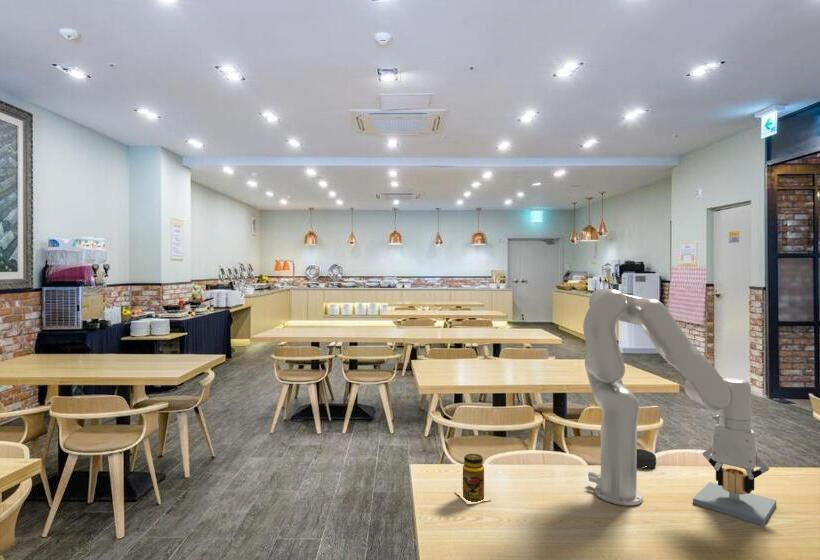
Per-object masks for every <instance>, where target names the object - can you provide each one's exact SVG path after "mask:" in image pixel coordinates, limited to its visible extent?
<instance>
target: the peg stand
mask: <svg viewBox="0 0 820 560" xmlns="http://www.w3.org/2000/svg"><path fill="white" fill-rule="evenodd" d="M692 504H693V505H695V506H699V507H703V508H706V509H709V510H712V511H715V512H718V513H721V514H725V515H727V516H731V517H734V518H737V519H741V520H743V521H747V522H750V523H753V524H757V525H759V526H763V527H764V526H765V525H766V524H767V521H768V520H769V519H770V517H771V515H772V514H773V512H774V510H775V508H776V507H777V500H776V499H773V498H769V497H765V496H761V495H759V494H755V493H752V492H751V493H750V494H743V495H741V494H734V493H731V492H728V491H726V490H724V489H723V488H722V487H721V486H719V485H718V483H714V482H712V481H709V482H708V483H707V484H706V485H705V486H704V487H702V489H701V490H699V492H698V493H696V494H695V496H693V497H692Z"/></svg>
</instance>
